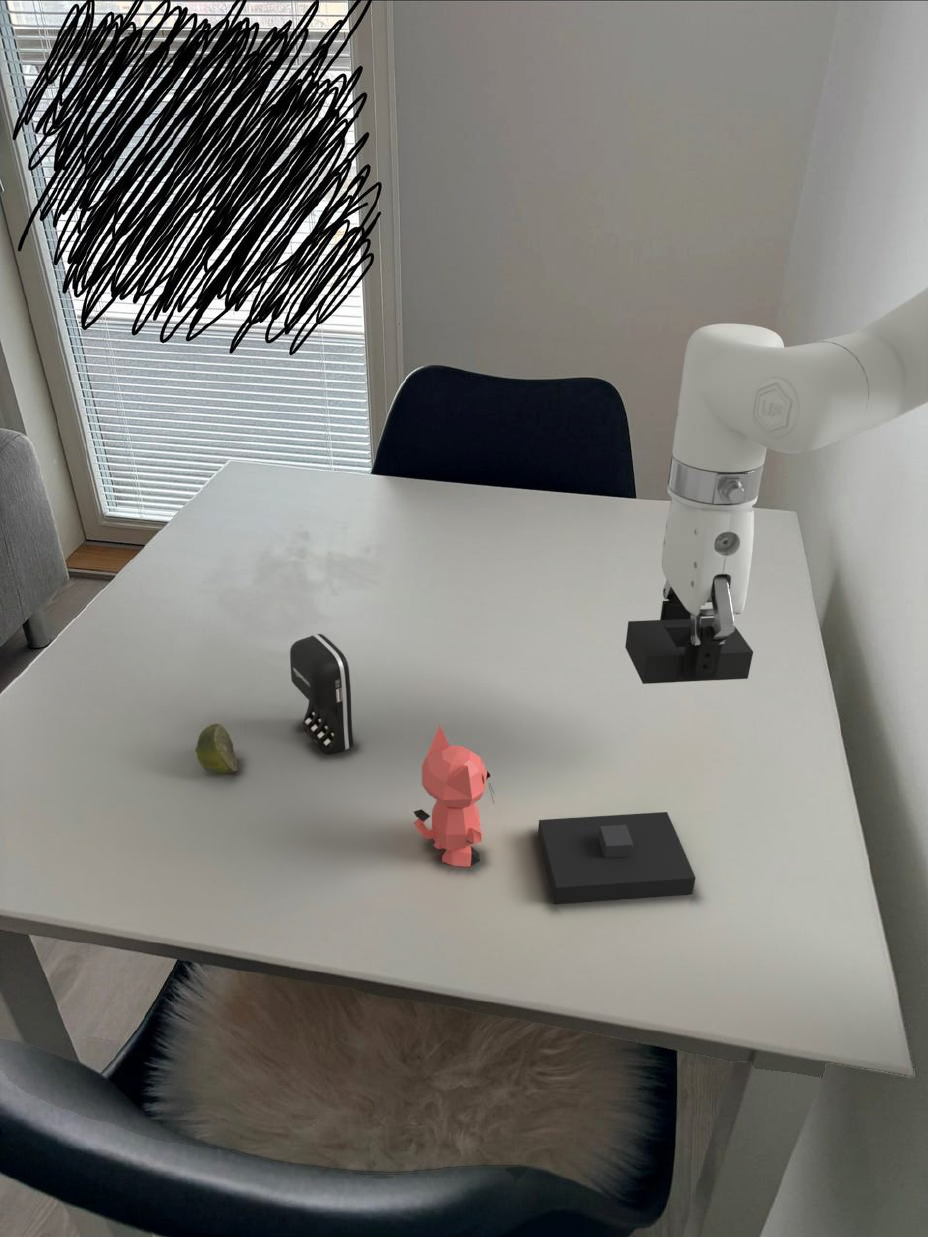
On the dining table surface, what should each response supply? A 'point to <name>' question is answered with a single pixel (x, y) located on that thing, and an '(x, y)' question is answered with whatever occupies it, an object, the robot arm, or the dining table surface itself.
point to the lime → (216, 750)
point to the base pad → (614, 857)
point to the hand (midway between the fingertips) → (686, 655)
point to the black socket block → (680, 651)
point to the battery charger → (323, 691)
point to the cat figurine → (453, 800)
